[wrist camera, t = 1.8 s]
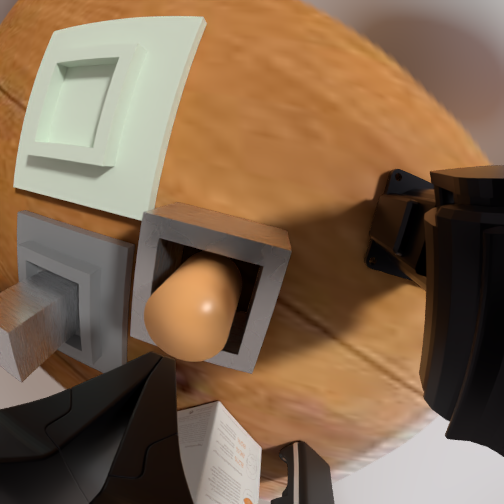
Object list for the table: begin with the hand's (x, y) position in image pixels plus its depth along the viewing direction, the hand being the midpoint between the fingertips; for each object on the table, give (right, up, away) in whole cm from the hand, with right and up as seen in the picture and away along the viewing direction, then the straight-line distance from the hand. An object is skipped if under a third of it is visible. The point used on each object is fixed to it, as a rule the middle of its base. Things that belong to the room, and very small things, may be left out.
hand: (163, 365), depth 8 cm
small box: (0, -13, +14) cm, 19 cm away
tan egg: (0, +2, +7) cm, 8 cm away
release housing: (+1, +3, +10) cm, 10 cm away
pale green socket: (-9, +14, +8) cm, 18 cm away
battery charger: (+8, -17, +15) cm, 24 cm away
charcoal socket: (-12, 0, +12) cm, 17 cm away
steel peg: (-12, 0, +11) cm, 16 cm away
